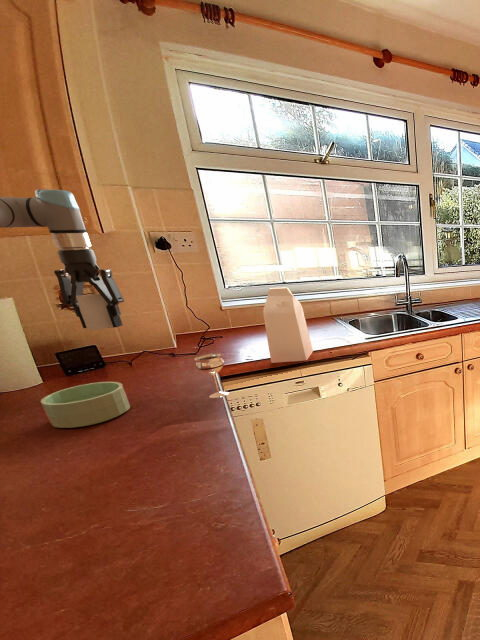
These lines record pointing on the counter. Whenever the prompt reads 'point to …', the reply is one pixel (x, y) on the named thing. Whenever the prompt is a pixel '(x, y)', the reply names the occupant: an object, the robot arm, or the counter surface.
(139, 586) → the counter surface
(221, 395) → the wineglass
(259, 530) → the counter surface
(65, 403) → the bowl
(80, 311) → the robot arm
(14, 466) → the counter surface
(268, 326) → the milk
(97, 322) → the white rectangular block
